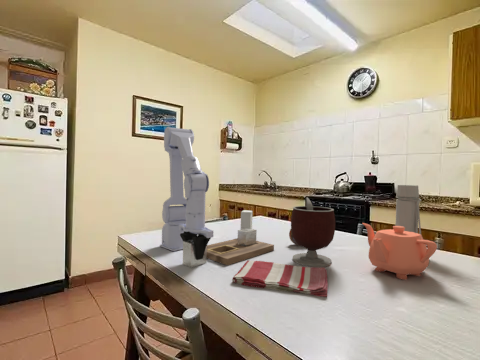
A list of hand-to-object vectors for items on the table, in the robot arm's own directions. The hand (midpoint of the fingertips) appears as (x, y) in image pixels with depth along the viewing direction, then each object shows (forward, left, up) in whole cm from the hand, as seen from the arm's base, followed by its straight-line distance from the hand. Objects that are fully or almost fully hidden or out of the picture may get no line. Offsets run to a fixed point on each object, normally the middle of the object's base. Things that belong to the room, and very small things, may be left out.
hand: (194, 257), depth 81 cm
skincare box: (-11, +36, -2) cm, 38 cm away
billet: (0, 0, -2) cm, 2 cm away
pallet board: (0, +18, -2) cm, 18 cm away
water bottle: (+44, +64, -2) cm, 78 cm away
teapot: (+45, +38, -2) cm, 59 cm away
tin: (+12, +47, -2) cm, 49 cm away
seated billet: (0, +24, -2) cm, 24 cm away
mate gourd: (+23, +30, -2) cm, 38 cm away
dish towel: (+25, +10, -3) cm, 27 cm away
